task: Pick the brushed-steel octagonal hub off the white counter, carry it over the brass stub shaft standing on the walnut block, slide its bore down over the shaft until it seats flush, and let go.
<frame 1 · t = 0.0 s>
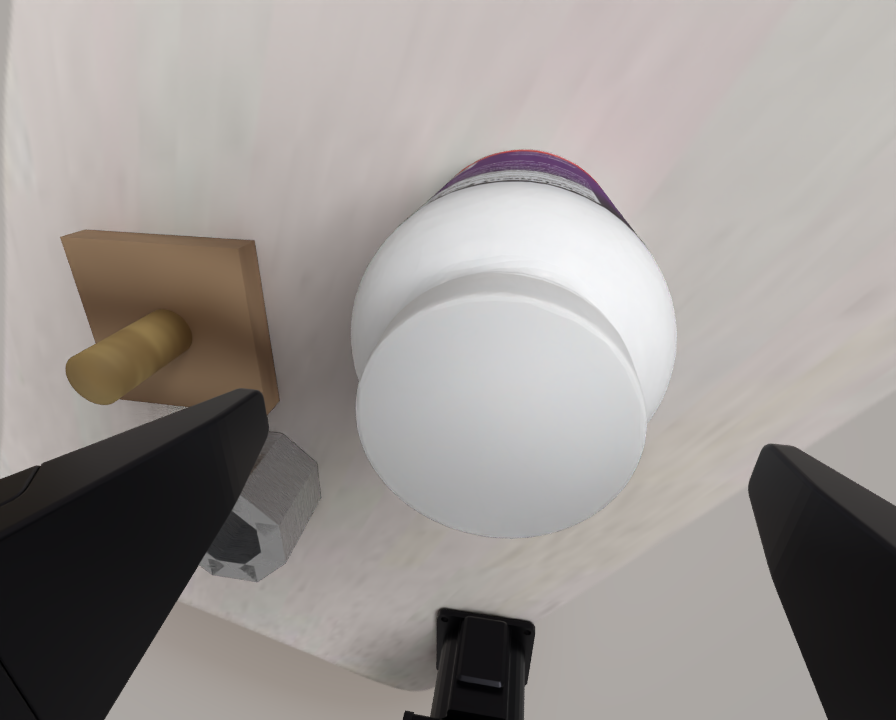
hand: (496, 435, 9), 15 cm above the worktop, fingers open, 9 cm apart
pill bottle: (519, 242, 22), on the worktop
hub: (268, 474, 31), on the worktop
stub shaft: (187, 320, 27), on the worktop
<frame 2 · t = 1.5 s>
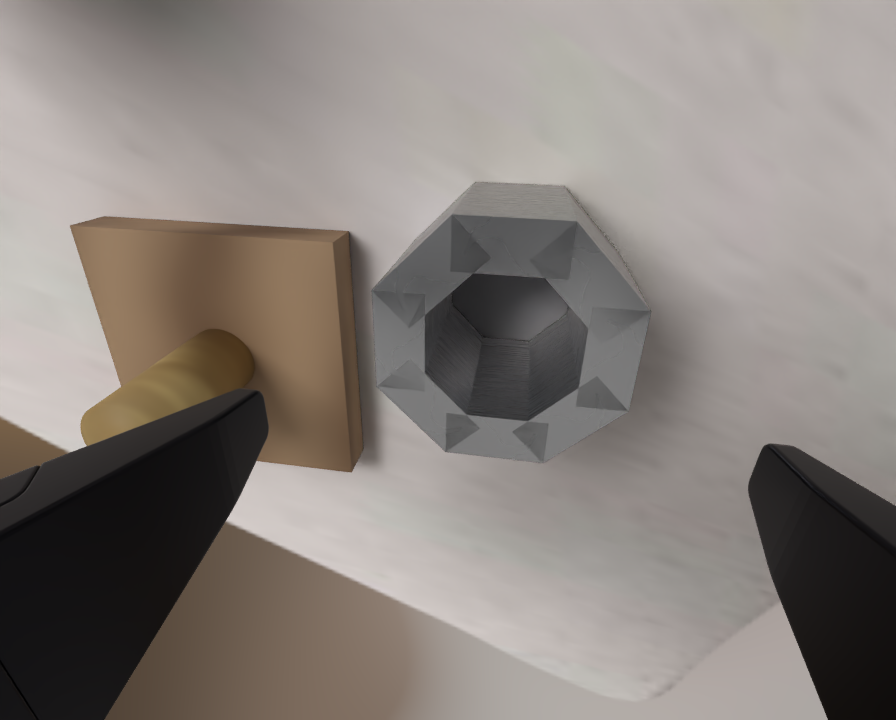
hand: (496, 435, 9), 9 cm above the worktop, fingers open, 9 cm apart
hub: (510, 286, 17), on the worktop
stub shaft: (243, 341, 19), on the worktop
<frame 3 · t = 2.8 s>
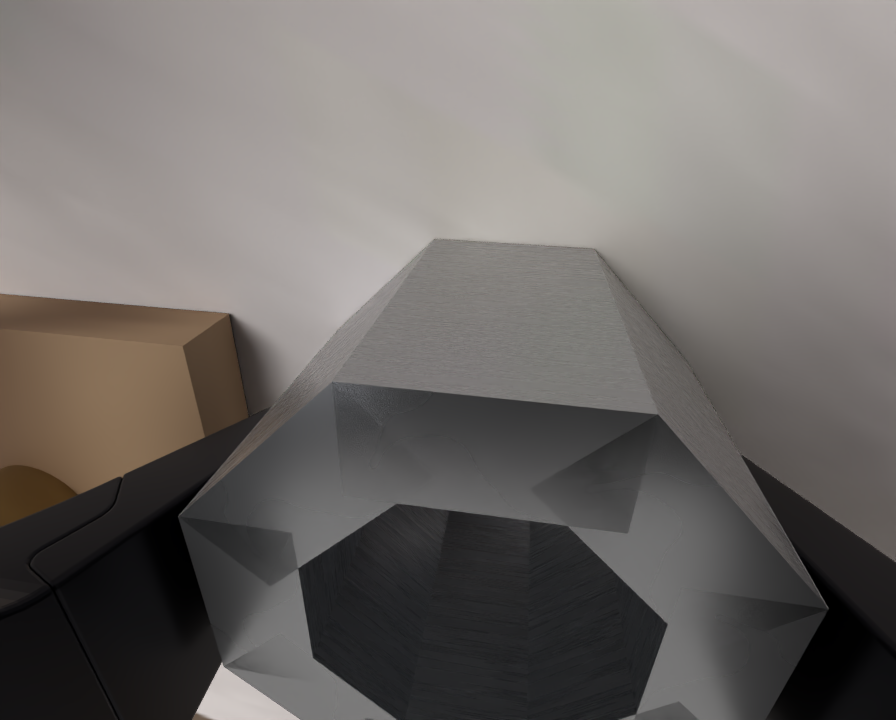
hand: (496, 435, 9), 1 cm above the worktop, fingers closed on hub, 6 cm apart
hub: (499, 405, 10), on the worktop, touching gripper
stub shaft: (94, 464, 13), on the worktop
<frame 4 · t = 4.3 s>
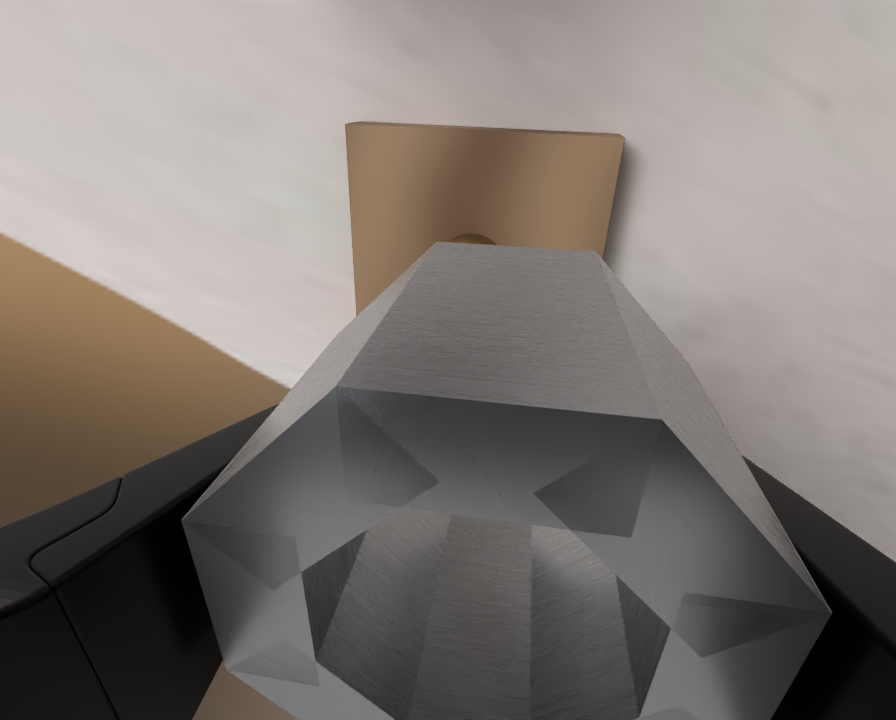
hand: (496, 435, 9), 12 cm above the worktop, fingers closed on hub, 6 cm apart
hub: (501, 407, 10), point 11 cm above the worktop, touching gripper
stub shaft: (476, 254, 20), on the worktop
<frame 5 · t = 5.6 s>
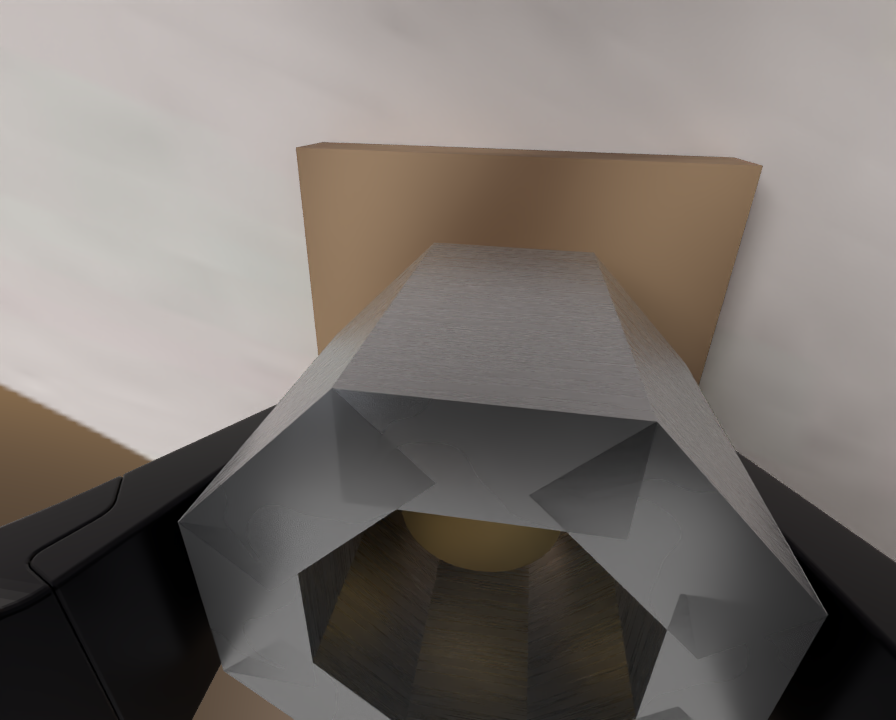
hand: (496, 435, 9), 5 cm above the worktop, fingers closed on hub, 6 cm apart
hub: (499, 408, 10), point 4 cm above the worktop, touching gripper
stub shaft: (503, 335, 13), on the worktop
when the fingers open (3 cm above the worktop, at t = 6.3 s): hub stays where it is, resting on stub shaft.
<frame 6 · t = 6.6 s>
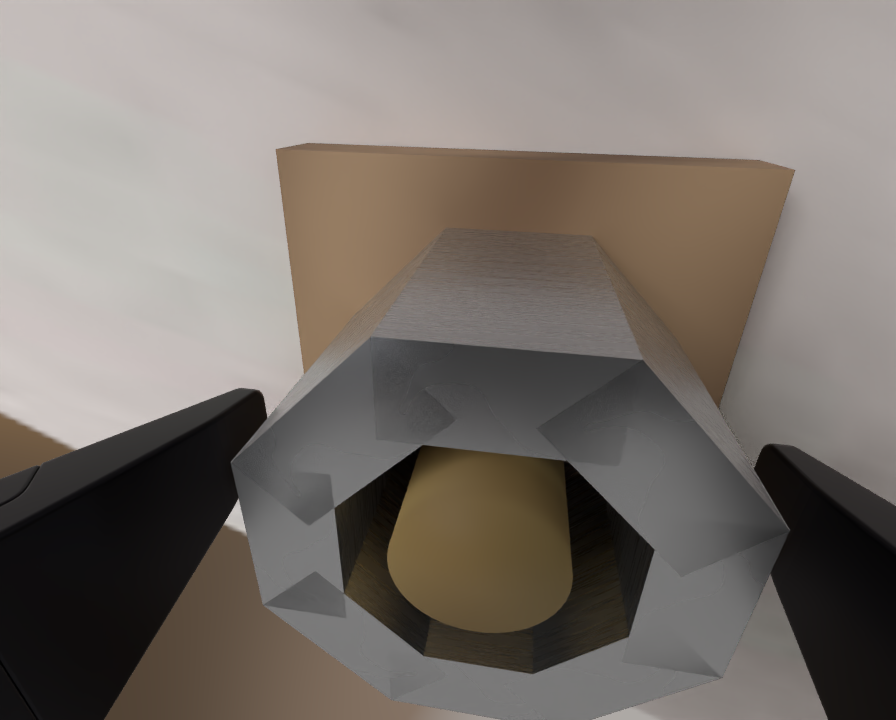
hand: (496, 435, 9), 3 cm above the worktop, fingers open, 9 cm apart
hub: (504, 382, 11), point 1 cm above the worktop, touching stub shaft
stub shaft: (504, 351, 12), on the worktop
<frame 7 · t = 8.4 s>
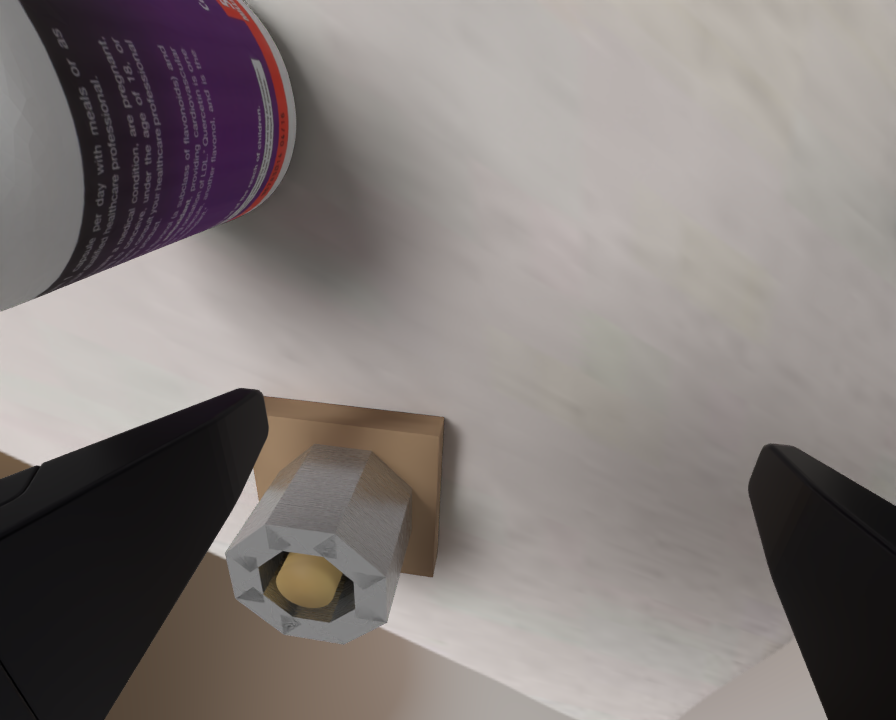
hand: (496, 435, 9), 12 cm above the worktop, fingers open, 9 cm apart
pill bottle: (204, 104, 19), on the worktop
hub: (346, 500, 25), point 1 cm above the worktop, touching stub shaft
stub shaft: (353, 480, 26), on the worktop
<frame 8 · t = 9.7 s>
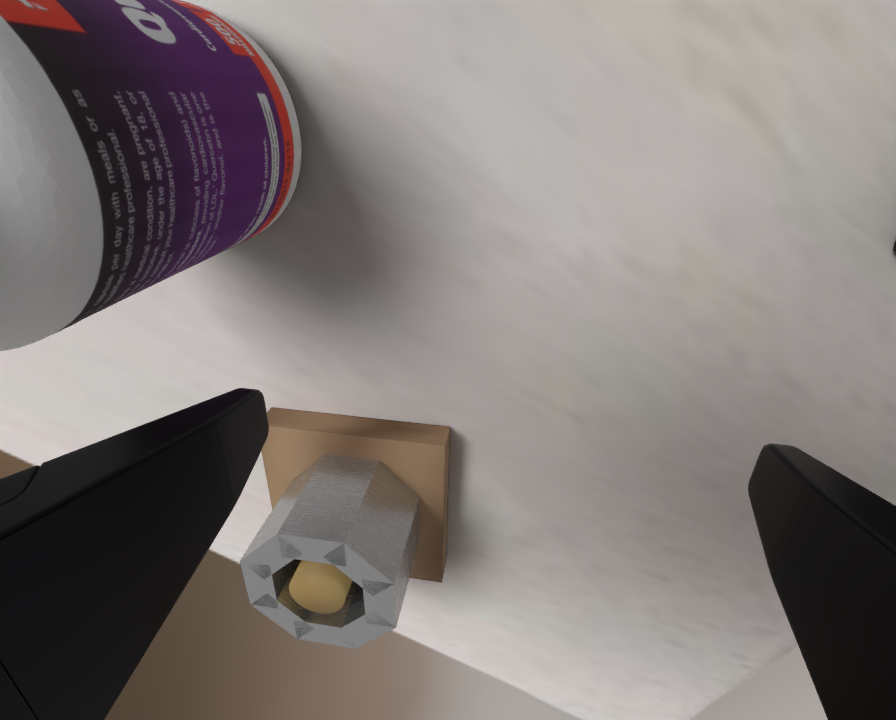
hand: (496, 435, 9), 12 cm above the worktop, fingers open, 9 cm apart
pill bottle: (214, 132, 20), on the worktop
hub: (356, 508, 25), point 1 cm above the worktop, touching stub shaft
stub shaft: (363, 487, 27), on the worktop
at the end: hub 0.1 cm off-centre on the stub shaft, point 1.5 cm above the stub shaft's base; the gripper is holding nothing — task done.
